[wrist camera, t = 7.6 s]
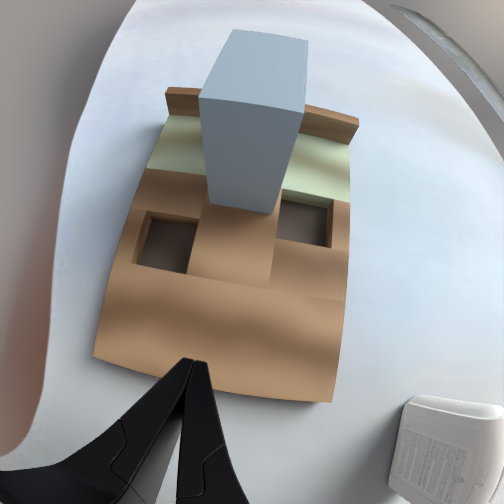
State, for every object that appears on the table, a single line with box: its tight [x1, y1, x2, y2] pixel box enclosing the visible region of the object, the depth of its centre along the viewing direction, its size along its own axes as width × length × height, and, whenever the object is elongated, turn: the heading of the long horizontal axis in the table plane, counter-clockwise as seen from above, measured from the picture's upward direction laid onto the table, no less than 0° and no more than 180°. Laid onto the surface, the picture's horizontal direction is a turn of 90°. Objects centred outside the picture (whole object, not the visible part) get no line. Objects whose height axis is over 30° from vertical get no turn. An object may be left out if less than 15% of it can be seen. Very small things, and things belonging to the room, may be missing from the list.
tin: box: [198, 29, 308, 214], centre depth 18 cm, size 8×5×11 cm, turn 171°
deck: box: [93, 87, 359, 402], centre depth 21 cm, size 24×18×5 cm
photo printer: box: [388, 394, 504, 504], centre depth 13 cm, size 10×4×12 cm, turn 175°
